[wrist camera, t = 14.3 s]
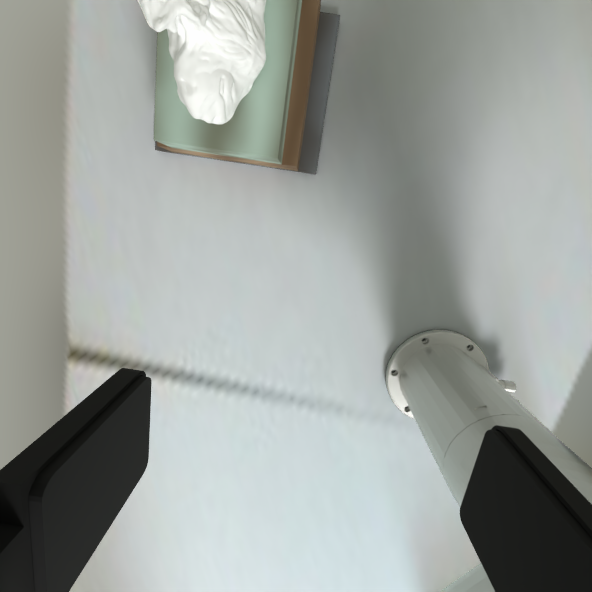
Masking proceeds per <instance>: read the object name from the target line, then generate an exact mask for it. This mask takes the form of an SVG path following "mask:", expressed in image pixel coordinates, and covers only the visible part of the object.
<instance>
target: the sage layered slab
mask: <svg viewBox="0 0 592 592" xmlns="http://www.w3.org/2000/svg"><path fill="white" fill-rule="evenodd" d="M320 2H321V0H266V5H265V11H264V23H265V53H266V61H265V64H264V67H263V68H262V70H261V71H260V73H259V75H258V76H257V78H256V79H255V80H254V83H253V86H252V88H251V90H250V91H249V93H248V94H247V95H246V96H245V97H243V98H242V99H241V101H240V102H239V104H238V106H237V108H236V110H235V112H234V115H233V117H232V118H231V119H230V120H229V121H228V122H226V123H224V124H213V123H207V122H205V121H204V120H201V119H195V118H193V117H192V115H191V114H190V113H189V111H188V109H187V107H186V106H185V105H184V104H183V103H182V102H181V100H180V98H179V96H178V93H177V88H178V87H177V83H176V80H175V78H174V60H173V58H172V57H171V55H170V52H169V37H168V31H167V29H165V30H163V31H161V32H157V61H156V90H155V119H154V140H155V150H158V151H163V152H170V153H177V154H183V155H190V156H197V157H203V158H210V159H217V160H223V161H230V162H237V163H243V164H250V165H257V166H263V167H270V168H277V169H283V170H290V171H297V172H304V173H310V174H316V170H317V164H318V157H319V151H320V144H321V137H322V131H323V124H324V117H325V111H326V104H327V98H328V91H329V84H330V78H331V71H332V65H333V58H334V51H335V45H336V38H337V32H338V25H339V18H340V15H337V14H330V13H323V12H320Z"/></svg>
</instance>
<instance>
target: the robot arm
mask: <svg viewBox="0 0 592 592" xmlns="http://www.w3.org/2000/svg"><path fill="white" fill-rule="evenodd" d="M423 338H425V339H424V340H422V339H423ZM392 370H394V371H392ZM386 386H387V389H388V392H389V395H390V397H391V399H392V401H393V403H394V404H395V405H396V406H397V408H398V409H399V410H400V411H401V412H403V413H404V414H405V415H407V416H409V417H411V418H413V419H415V420H416V422H417V424H418V427H419V429H420V431H421V433H422V435H423V437H424V439H425V441H426V443H427V445H428V447H429V449H430V451H431V453H432V455H433V457H434V459H435V461H436V463H437V465H438V467H439V469H440V471H441V473H442V475H443V477H444V479H445V481H446V483H447V485H448V487H449V489H450V491H451V493H452V495H453V497H454V498H455V500H456V502H457V503H458V505H459V506H460V518H461V521H462V524H463V526H464V528H465V530H466V532H467V534H468V536H469V539H470V541H471V543H472V545H473V547H474V549H475V551H476V553H477V555H478V557H479V559H480V561H481V563H480V564H479V565H478V566H476V567H475V568H473V569H472V570H470V571H469V572H467V573H466V574H464V575H463V576H462V577H460V578H459V579H457V580H456V581H454V582H453V583H451V584H450V585H449V586H447V587H446V588H444V589H443V590H441V591H440V592H592V468H591V467H590V466H589V465H588V464H587V463H586V462H584V461H583V460H582V459H581V458H580V457H579V456H578V455H576V454H575V453H574V452H573V451H572V450H571V449H570V448H568V447H567V446H566V445H565V444H564V443H563V442H562V441H561V440H560V439H558V438H557V437H556V436H555V435H554V434H553V433H552V432H551V431H550V430H549V429H548V428H546V427H545V426H544V425H543V424H542V423H541V422H540V421H539V420H538V419H537V418H536V417H534V416H533V415H532V414H531V413H530V412H529V411H528V410H527V409H526V408H525V407H524V406H523V405H522V404H520V402H519V400H517V399H515V398H514V397H513V396H512V395H511V394H510V393H514V392H515V391H516V384H515V383H514V382H512V381H506V380H498V379H497V378H496V377H495V376H494V375H493V374H492V373H491V372H490V371H489V366H488V363H487V359H486V357H485V355H484V354H483V352H482V350H481V349H480V348H479V347H478V346H477V345H476V344H475V343H474V342H473V341H471V340H470V339H469V338H467V337H465V336H464V335H462V334H459V333H456V332H454V331H448V330H431V331H426V332H422V333H420V334H417V335H415V336H413V337H411V338H410V339H408V340H406V341H405V342H404V343H403V344H402V345H400V346H399V347H398V348H397V350H396V351H395V352H394V354H393V355H392V357H391V359H390V361H389V363H388V366H387V370H386ZM150 404H151V378H149V377H146V374H145V372H144V371H140V370H133V369H126V368H122V369H120V370H119V371H118V372H116V373H115V374H114V375H113V376H112V377H110V378H109V379H108V380H107V381H106V382H104V383H103V384H102V385H101V386H100V387H99V388H97V389H96V390H95V391H94V392H93V393H91V394H90V395H89V396H88V397H87V398H85V399H84V400H83V401H82V402H81V403H80V404H78V405H77V406H76V407H75V408H74V409H72V410H71V411H70V412H69V413H68V414H66V415H65V416H64V417H63V418H62V419H60V421H58V422H57V423H56V424H55V425H53V426H52V427H51V428H50V429H49V430H47V431H46V432H45V433H44V434H43V435H41V436H40V437H39V438H38V439H37V440H36V441H34V442H33V443H32V444H31V445H30V446H28V447H27V448H26V449H25V450H24V451H22V452H21V453H20V454H19V455H18V456H16V457H15V458H14V459H13V460H12V461H11V462H9V463H8V464H7V465H6V466H5V467H3V468H2V469H1V470H0V592H69V591H70V589H71V587H72V586H73V584H74V583H75V581H76V579H77V578H78V576H79V575H80V573H81V572H82V570H83V568H84V567H85V565H86V564H87V562H88V560H89V559H90V557H91V556H92V554H93V553H94V551H95V549H96V548H97V546H98V545H99V543H100V542H101V540H102V538H103V537H104V535H105V534H106V532H107V530H108V529H109V527H110V526H111V524H112V523H113V521H114V519H115V518H116V516H117V515H118V513H119V511H120V510H121V508H122V507H123V505H124V504H125V502H126V500H127V499H128V497H129V496H130V494H131V493H132V491H133V489H134V488H135V486H136V485H137V483H138V481H139V480H140V478H141V477H142V475H143V473H144V472H145V469H146V467H147V463H148V455H149V429H150Z"/></svg>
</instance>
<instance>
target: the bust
mask: <svg viewBox="0 0 592 592" xmlns="http://www.w3.org/2000/svg"><path fill="white" fill-rule="evenodd" d="M137 1H138V3H139V5H140V7H141V9H142V12H143V14H144V16H145V18H146V21H147V23H148V25H149V26H150V27H151V28H152V29H154V30H155V31H156V32H161V31H163V30H165V29H167V31H168V37H169V52H170V55H171V57H172V58H173V60H174V78H175V80H176V83H177V87H178V88H177V93H178V96H179V98H180V100H181V102H182V103H183V104H184V105H185V106H186V107H187V109H188V111H189V113H190V114H191V115H192V117H193V118H195V119H201V120H204V121H205V122H207V123H213V124H224V123H226V122H228V121H229V120H230V119H231V118H232V117H233V115H234V112H235V110H236V108H237V106H238V104H239V102H240V101H241V99H242V98H243V97H245V96H246V95H247V94H248V93H249V91H250V90H251V88H252V86H253V83H254V80H255V79H256V78H257V76H258V75H259V73H260V71H261V70H262V68H263V67H264V64H265V61H266V53H265V23H264V11H265V5H266V0H137Z"/></svg>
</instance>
